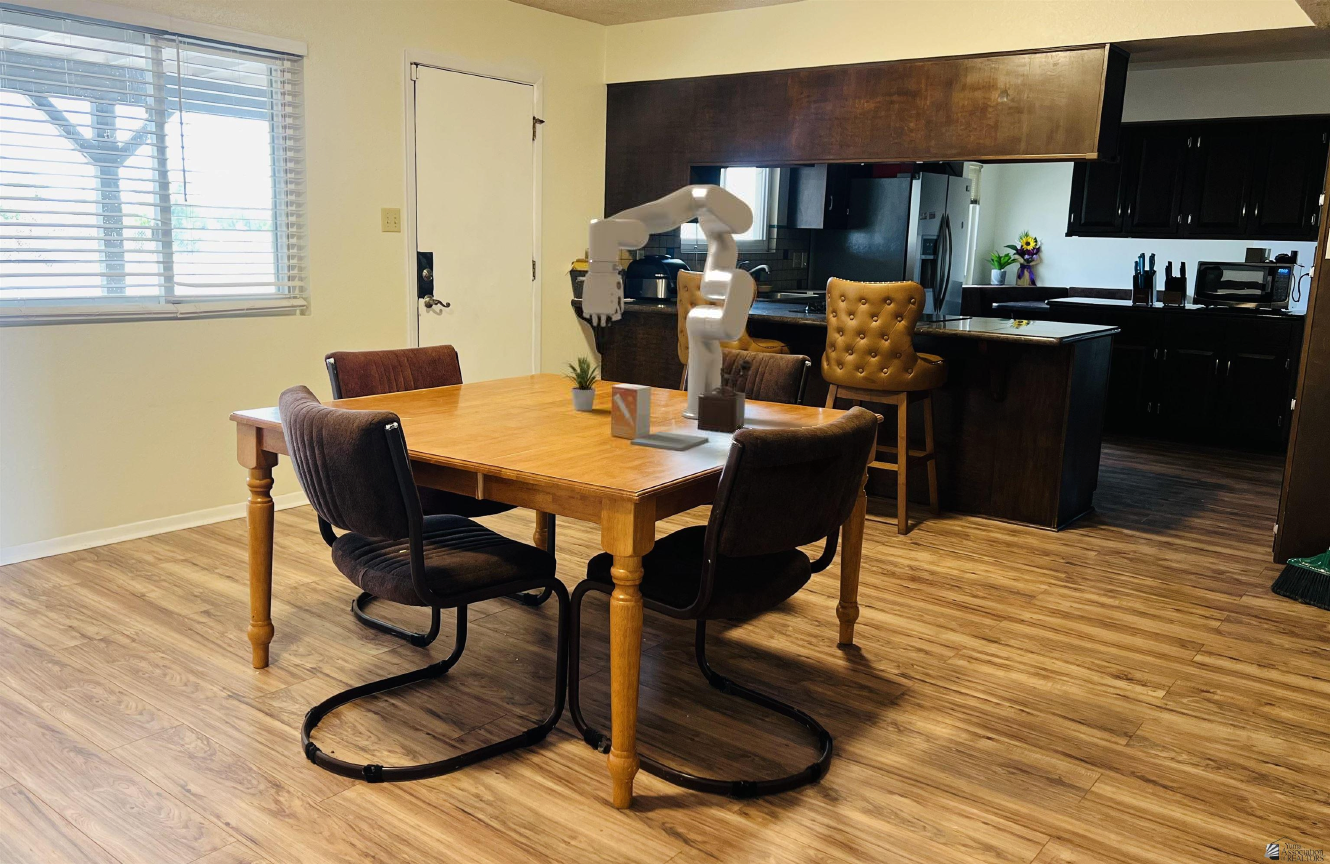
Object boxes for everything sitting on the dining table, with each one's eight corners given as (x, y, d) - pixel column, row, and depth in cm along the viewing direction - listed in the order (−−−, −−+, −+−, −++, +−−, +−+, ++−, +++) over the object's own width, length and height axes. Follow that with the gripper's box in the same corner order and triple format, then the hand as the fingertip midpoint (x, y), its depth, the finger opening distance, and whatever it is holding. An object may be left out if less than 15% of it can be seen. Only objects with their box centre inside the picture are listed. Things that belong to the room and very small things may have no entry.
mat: (659, 434, 264) (659, 431, 264) (708, 441, 258) (708, 437, 258) (630, 444, 251) (630, 440, 251) (680, 451, 245) (680, 447, 245)
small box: (610, 436, 261) (611, 385, 258) (624, 432, 266) (625, 383, 263) (636, 440, 256) (637, 389, 254) (650, 436, 261) (651, 386, 259)
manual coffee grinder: (735, 433, 269) (738, 365, 265) (696, 429, 273) (698, 362, 269) (752, 424, 283) (755, 359, 280) (714, 420, 287) (717, 356, 284)
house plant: (549, 406, 303) (549, 351, 300) (593, 403, 309) (594, 350, 306) (565, 414, 290) (566, 356, 287) (610, 411, 296) (611, 355, 293)
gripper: (636, 270, 257) (633, 342, 261) (586, 267, 264) (584, 338, 268) (620, 270, 251) (618, 344, 254) (570, 267, 258) (568, 340, 261)
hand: (601, 341), depth 261 cm, fingers closed
